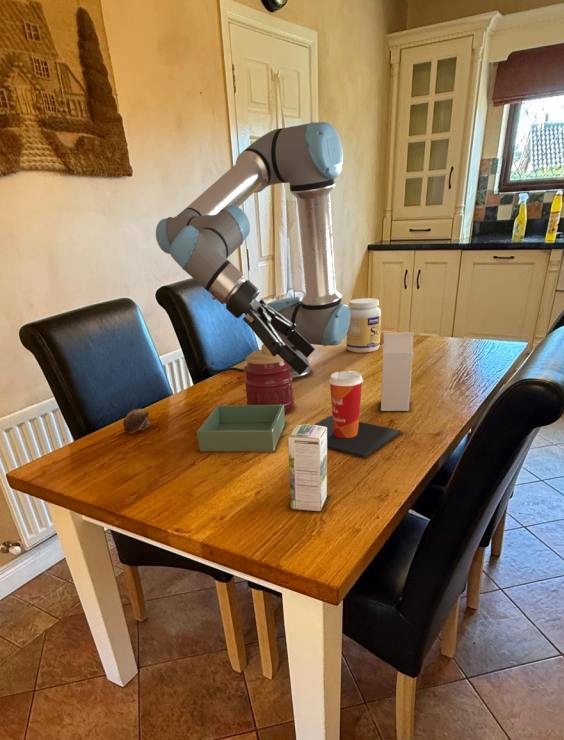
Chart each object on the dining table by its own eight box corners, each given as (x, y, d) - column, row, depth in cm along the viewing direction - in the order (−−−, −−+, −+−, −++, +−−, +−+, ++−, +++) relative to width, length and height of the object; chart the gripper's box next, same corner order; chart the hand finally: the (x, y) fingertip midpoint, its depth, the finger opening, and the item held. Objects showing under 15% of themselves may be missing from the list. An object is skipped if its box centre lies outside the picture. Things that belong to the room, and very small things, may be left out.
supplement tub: (371, 354, 182) (373, 304, 174) (340, 352, 188) (340, 303, 180) (385, 346, 191) (387, 297, 182) (355, 344, 197) (355, 297, 188)
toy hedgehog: (161, 414, 134) (143, 398, 131) (149, 436, 130) (130, 419, 127) (145, 424, 139) (127, 408, 136) (132, 445, 135) (113, 430, 132)
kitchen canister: (301, 403, 144) (298, 338, 135) (282, 419, 134) (278, 350, 125) (260, 399, 149) (254, 337, 140) (239, 415, 139) (231, 348, 130)
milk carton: (408, 411, 132) (414, 335, 123) (380, 411, 134) (383, 336, 124) (408, 402, 138) (413, 329, 129) (381, 402, 140) (384, 329, 130)
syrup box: (298, 494, 99) (294, 423, 92) (328, 496, 97) (327, 424, 90) (290, 509, 94) (286, 435, 87) (322, 512, 93) (320, 437, 85)
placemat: (292, 438, 123) (292, 436, 122) (330, 417, 133) (330, 415, 132) (364, 457, 111) (364, 455, 110) (400, 433, 121) (400, 430, 120)
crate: (199, 451, 120) (196, 431, 118) (219, 423, 135) (216, 405, 132) (273, 451, 117) (272, 431, 114) (285, 422, 132) (284, 404, 129)
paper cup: (326, 429, 125) (325, 371, 117) (358, 426, 125) (359, 368, 118) (332, 441, 118) (332, 381, 111) (365, 438, 118) (367, 378, 111)
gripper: (237, 296, 121) (303, 358, 126) (209, 318, 101) (289, 391, 106) (257, 270, 118) (324, 335, 123) (232, 287, 97) (314, 364, 102)
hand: (308, 361), depth 114 cm, fingers open, 13 cm apart
